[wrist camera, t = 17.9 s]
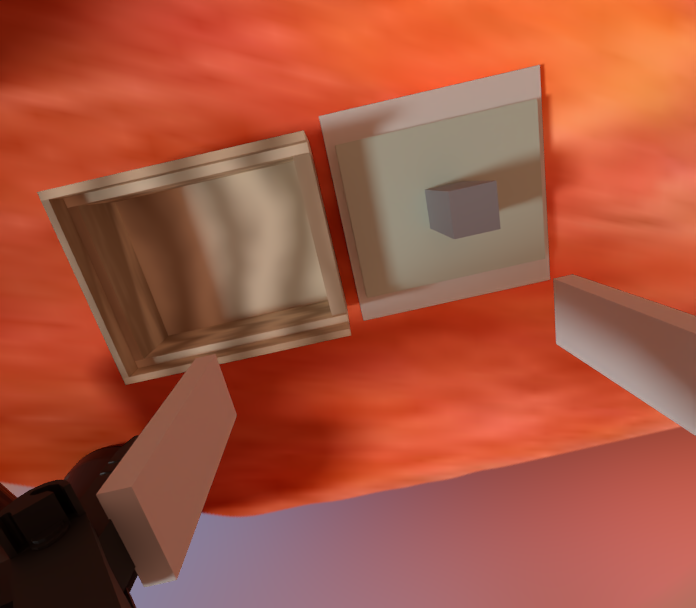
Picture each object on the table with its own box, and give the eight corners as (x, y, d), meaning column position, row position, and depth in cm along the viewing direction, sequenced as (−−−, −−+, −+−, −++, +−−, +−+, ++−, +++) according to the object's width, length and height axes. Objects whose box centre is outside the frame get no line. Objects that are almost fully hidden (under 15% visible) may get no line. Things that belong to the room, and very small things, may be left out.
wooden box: (164, 346, 44) (125, 384, 36) (100, 190, 39) (37, 192, 30) (346, 306, 44) (351, 335, 35) (309, 141, 38) (303, 130, 30)
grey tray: (547, 278, 44) (550, 279, 43) (363, 319, 44) (363, 320, 44) (536, 66, 37) (539, 64, 36) (319, 117, 38) (318, 116, 37)
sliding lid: (366, 294, 43) (375, 323, 34) (334, 146, 38) (336, 135, 29) (539, 256, 42) (594, 275, 34) (530, 101, 37) (592, 76, 29)
